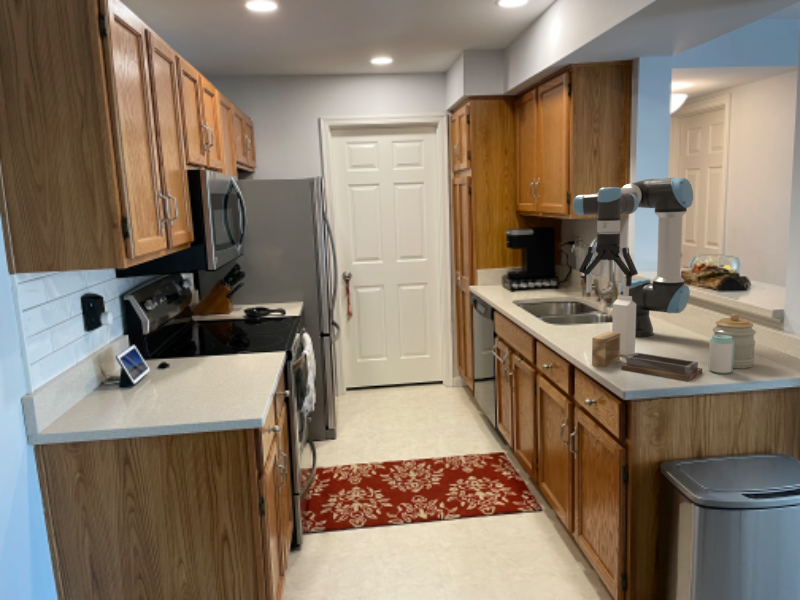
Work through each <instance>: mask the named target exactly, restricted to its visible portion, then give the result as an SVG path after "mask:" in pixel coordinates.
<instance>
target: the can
mask: <svg viewBox="0 0 800 600" xmlns="http://www.w3.org/2000/svg"><path fill="white" fill-rule="evenodd" d="M708 352H709V353H708V354H709V355H708V370H709V371H711V373H713V374H719V375H727V374H728V373H729V374H730V373H732V372H733V369H734V368H733V357H734V341H733V339H732V336H729V335H714V334H713V335H712V338H710V339H709V351H708Z"/></svg>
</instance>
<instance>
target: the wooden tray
mask: <svg viewBox="0 0 800 600" xmlns="http://www.w3.org/2000/svg"><path fill="white" fill-rule="evenodd" d="M620 369H621V370H622V371H629V372H632V373H633V372H635V373H640V374H645V375H651V376H656V377H662V378H666V379H667V378H669V379H674V380H679V381H680V380H681V381H686V382H690V381H692V380H694V379H695V378H696V377H698V376H699V375H701V374H702V373H703V368H702V367H699V362H698V361H693V360H687V359H682V358H681V359H680V358H675V357H668V356H661V355H656V354H649V353H642V352H635V353H633V354H630V355H627V356H626V362H625V363H623V364H621V368H620Z"/></svg>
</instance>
